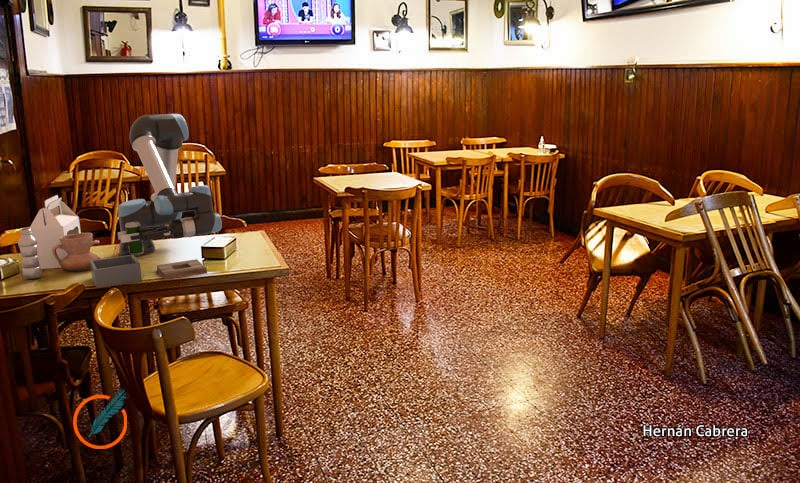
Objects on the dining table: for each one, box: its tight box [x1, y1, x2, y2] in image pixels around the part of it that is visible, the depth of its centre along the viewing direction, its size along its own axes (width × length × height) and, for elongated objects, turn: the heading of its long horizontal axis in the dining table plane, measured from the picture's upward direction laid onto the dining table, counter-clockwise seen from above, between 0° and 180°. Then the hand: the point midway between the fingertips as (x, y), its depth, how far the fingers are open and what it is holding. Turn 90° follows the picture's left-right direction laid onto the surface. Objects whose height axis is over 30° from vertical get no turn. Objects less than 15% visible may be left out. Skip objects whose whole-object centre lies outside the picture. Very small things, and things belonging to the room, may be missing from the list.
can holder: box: [156, 258, 208, 280], centre depth 265 cm, size 16×16×2 cm
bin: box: [90, 255, 143, 289], centre depth 256 cm, size 16×16×7 cm
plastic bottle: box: [17, 227, 43, 280], centre depth 258 cm, size 6×7×20 cm
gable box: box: [29, 194, 82, 270], centre depth 282 cm, size 22×13×28 cm, turn 10°
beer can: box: [125, 222, 144, 256], centre depth 254 cm, size 5×5×12 cm
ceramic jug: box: [52, 232, 102, 272], centre depth 272 cm, size 18×14×14 cm
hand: (119, 237), depth 251 cm, fingers closed on beer can, 5 cm apart
